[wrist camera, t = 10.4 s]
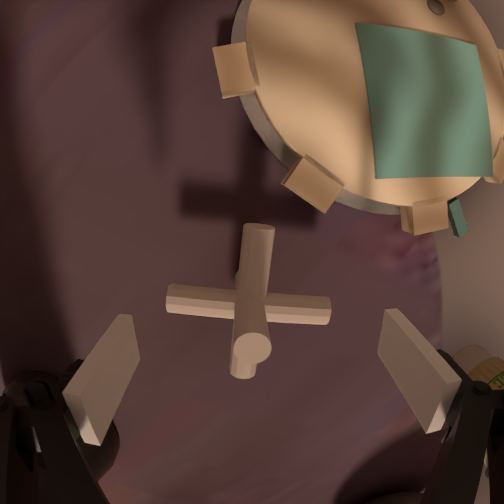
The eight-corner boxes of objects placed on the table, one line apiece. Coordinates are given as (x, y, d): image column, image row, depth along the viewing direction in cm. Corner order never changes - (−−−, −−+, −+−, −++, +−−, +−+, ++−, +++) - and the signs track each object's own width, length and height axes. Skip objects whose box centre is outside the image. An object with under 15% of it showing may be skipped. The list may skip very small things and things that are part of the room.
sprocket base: (232, 237, 24) (232, 240, 23) (232, -60, 17) (232, -66, 16) (488, 235, 25) (494, 238, 24) (472, -9, 18) (477, -12, 17)
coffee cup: (470, 315, 27) (565, 395, 13) (504, 348, 29) (578, 415, 14) (412, 389, 29) (478, 491, 15) (454, 409, 31) (511, 489, 16)
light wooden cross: (321, 220, 24) (373, 258, 14) (300, 338, 26) (328, 420, 17) (185, 206, 23) (149, 237, 14) (180, 328, 26) (154, 410, 16)
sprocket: (420, 289, 24) (483, 340, 16) (142, 96, 20) (88, 61, 11) (531, 77, 19) (592, 69, 10) (329, -97, 14) (353, -153, 6)
